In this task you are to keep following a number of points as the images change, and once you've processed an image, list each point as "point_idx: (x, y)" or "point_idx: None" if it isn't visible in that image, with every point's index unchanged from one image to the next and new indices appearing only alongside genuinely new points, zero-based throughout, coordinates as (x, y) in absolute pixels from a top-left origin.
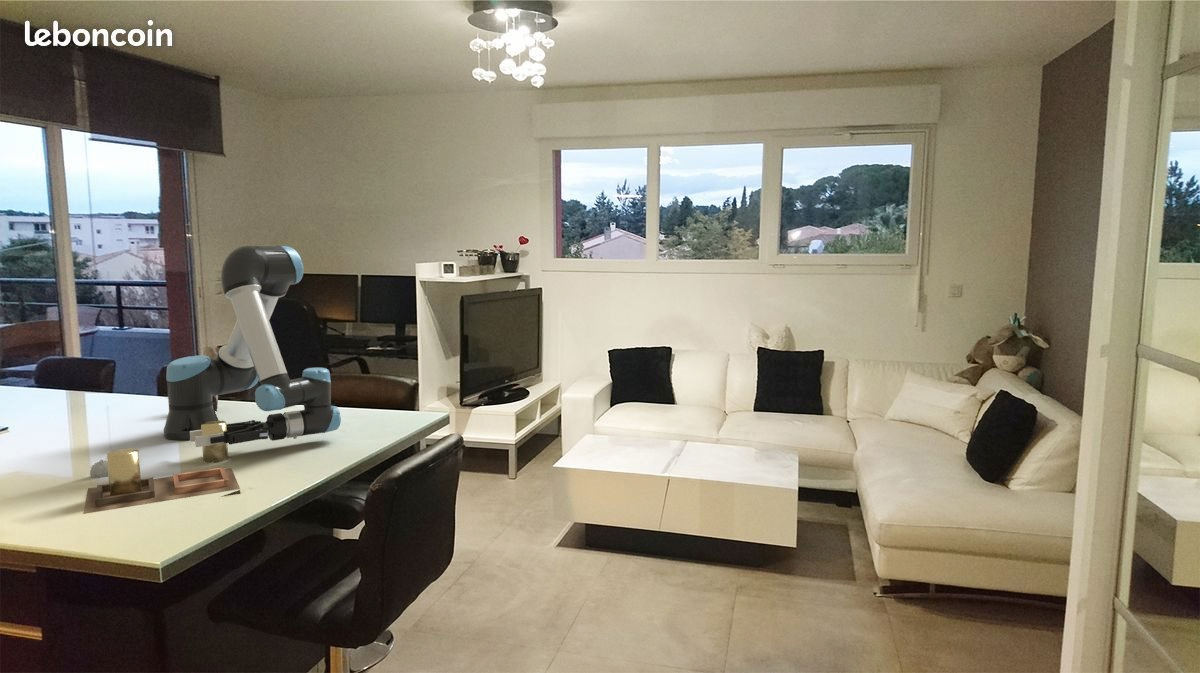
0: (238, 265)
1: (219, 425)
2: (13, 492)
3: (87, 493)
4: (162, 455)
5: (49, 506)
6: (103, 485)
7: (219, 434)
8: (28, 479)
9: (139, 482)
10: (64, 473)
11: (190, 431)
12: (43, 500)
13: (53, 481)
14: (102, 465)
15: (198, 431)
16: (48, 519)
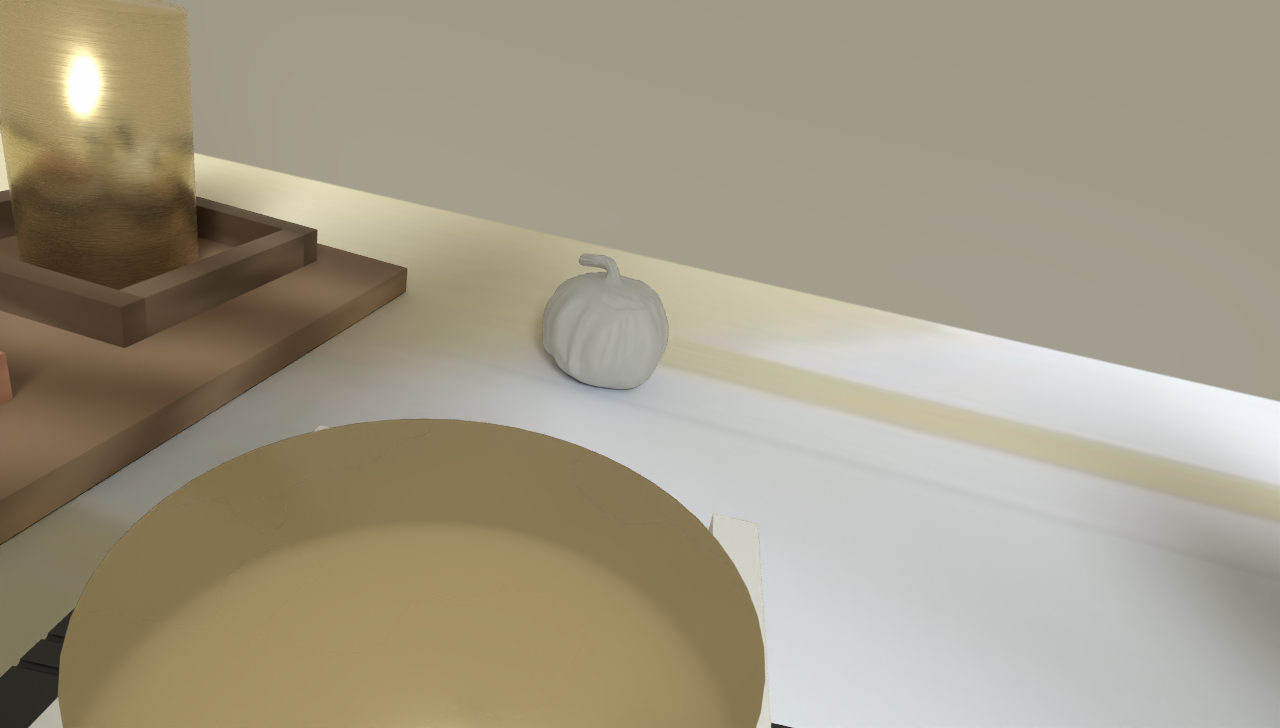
0: None
1: (94, 577)
2: (654, 261)
3: (331, 247)
4: (993, 709)
5: (376, 231)
6: (281, 230)
7: (58, 712)
8: (798, 310)
9: (16, 203)
10: (815, 359)
11: (734, 521)
12: (470, 248)
13: (710, 318)
14: (573, 279)
15: None
16: (228, 195)
